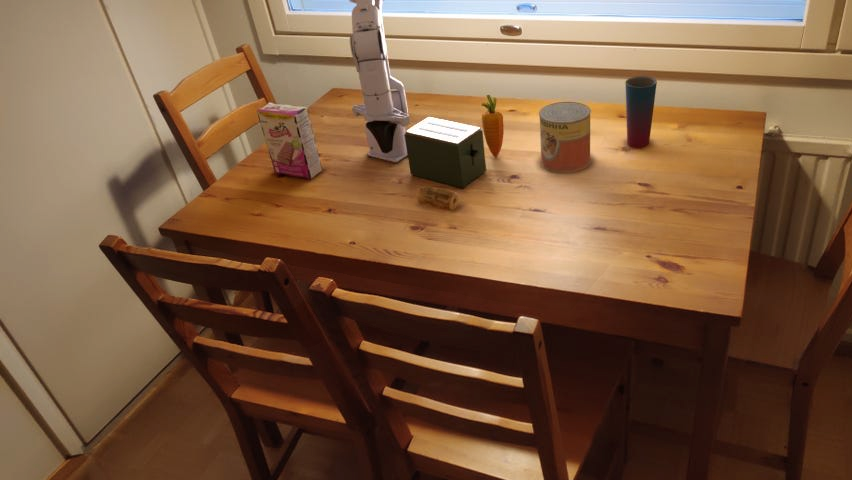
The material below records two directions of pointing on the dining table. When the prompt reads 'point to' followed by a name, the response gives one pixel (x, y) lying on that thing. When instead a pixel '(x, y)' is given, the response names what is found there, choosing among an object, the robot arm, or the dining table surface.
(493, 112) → the carrot
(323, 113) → the dining table surface
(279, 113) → the candy bar box
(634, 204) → the dining table surface
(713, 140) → the dining table surface
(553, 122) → the canned food
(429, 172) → the toaster
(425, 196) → the tan cylinder with hole
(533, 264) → the dining table surface
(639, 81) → the cup
